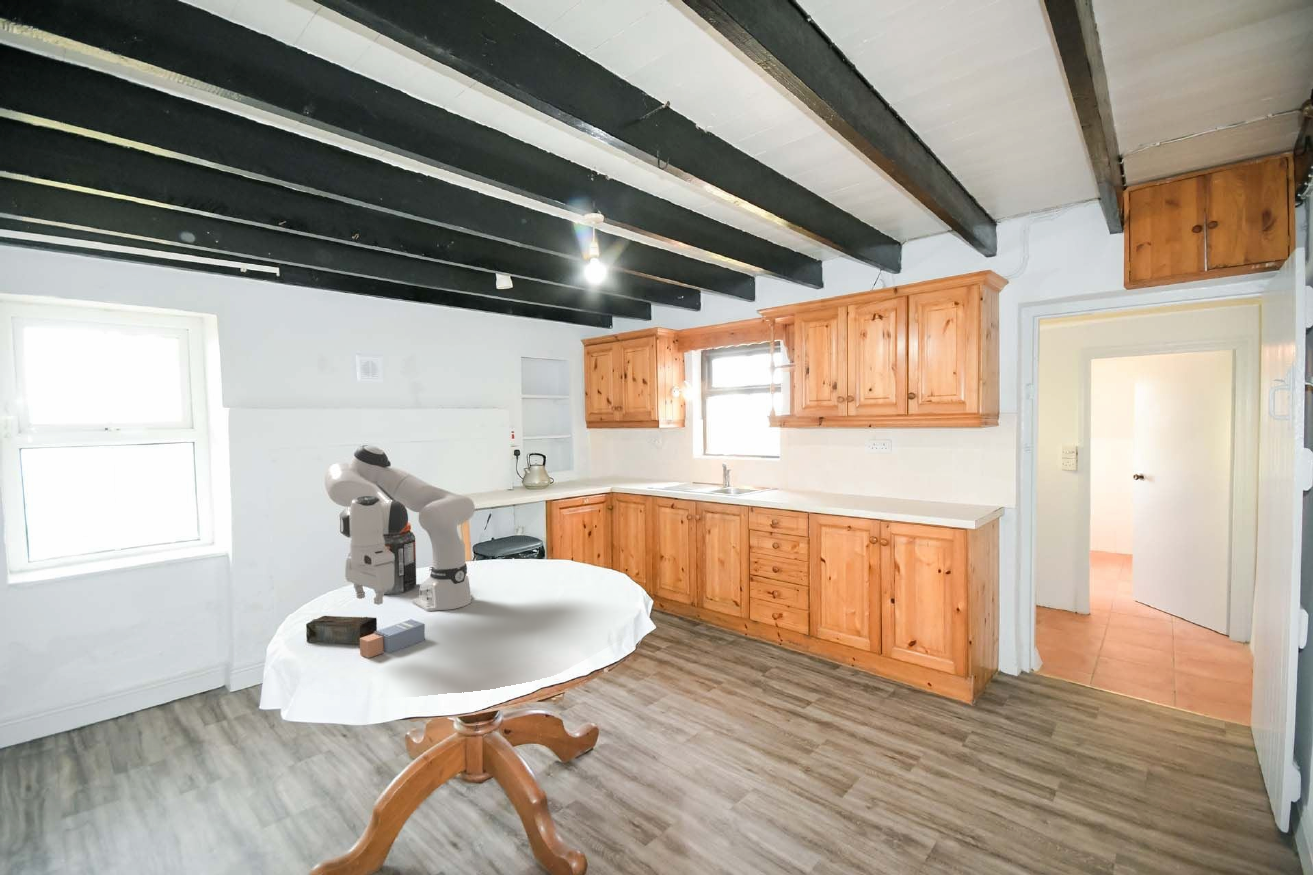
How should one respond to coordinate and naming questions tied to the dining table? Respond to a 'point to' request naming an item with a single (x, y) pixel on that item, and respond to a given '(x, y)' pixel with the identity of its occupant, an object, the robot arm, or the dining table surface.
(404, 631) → the double-striped slate block
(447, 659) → the dining table surface
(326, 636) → the beverage carton
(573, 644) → the dining table surface
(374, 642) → the stub
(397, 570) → the supplement tub
